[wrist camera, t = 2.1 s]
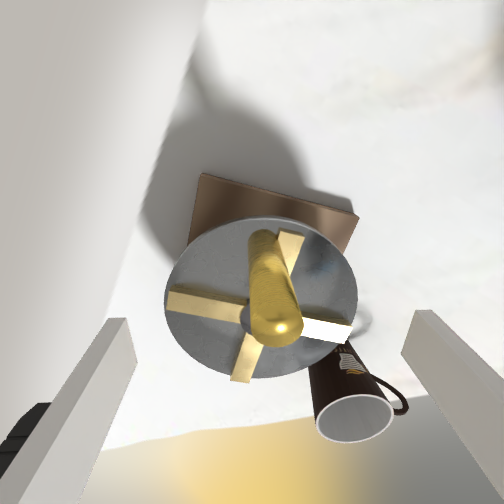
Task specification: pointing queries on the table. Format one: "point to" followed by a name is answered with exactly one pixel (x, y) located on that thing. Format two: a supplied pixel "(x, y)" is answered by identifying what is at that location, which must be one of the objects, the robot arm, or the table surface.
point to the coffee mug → (349, 398)
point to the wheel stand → (264, 209)
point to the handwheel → (260, 297)
